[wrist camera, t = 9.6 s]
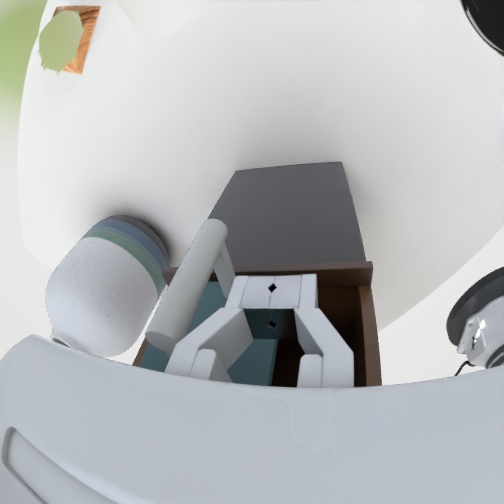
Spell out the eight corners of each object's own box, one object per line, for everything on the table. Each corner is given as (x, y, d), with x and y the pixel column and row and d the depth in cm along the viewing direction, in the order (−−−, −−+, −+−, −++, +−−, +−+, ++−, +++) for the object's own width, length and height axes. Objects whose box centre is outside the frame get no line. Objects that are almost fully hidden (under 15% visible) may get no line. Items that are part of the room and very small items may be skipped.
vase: (107, 189, 42) (12, 289, 23) (191, 237, 45) (124, 365, 27) (96, 250, 52) (33, 339, 34) (163, 290, 55) (114, 391, 37)
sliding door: (285, 289, 17) (251, 488, 8) (182, 289, 19) (115, 448, 10) (271, 207, 14) (201, 475, 5) (150, 219, 16) (33, 399, 7)
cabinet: (344, 227, 38) (349, 509, 12) (250, 232, 42) (171, 484, 16) (340, 149, 32) (386, 518, 5) (232, 160, 35) (73, 450, 9)
